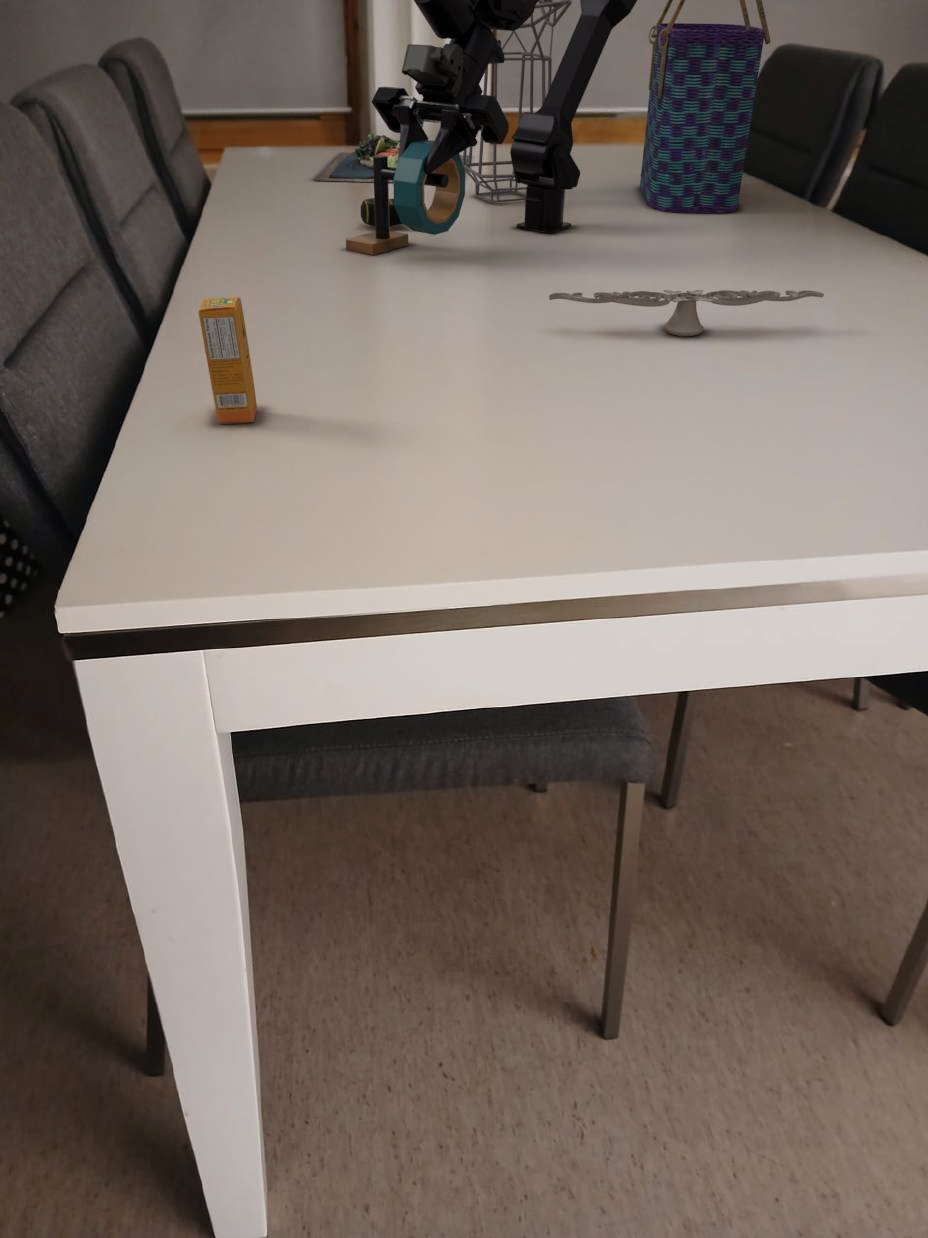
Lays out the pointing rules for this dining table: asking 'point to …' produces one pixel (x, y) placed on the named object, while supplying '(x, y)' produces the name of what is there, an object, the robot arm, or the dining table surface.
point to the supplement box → (228, 359)
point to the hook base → (376, 243)
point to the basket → (700, 112)
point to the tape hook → (382, 193)
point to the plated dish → (363, 160)
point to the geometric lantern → (544, 1)
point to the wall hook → (686, 303)
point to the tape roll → (412, 191)
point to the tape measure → (369, 213)
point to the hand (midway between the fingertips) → (412, 170)
